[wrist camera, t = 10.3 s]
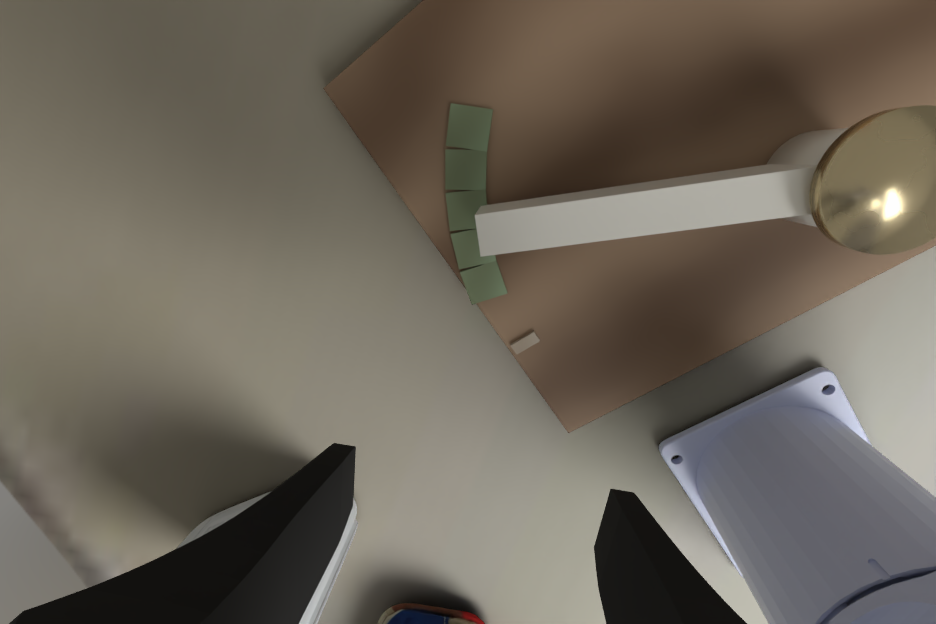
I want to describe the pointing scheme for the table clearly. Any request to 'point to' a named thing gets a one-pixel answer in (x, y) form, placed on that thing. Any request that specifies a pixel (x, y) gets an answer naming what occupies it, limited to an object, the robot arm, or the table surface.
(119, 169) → the table surface
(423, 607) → the pencil case
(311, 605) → the photo printer
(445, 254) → the board
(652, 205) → the peg lever
